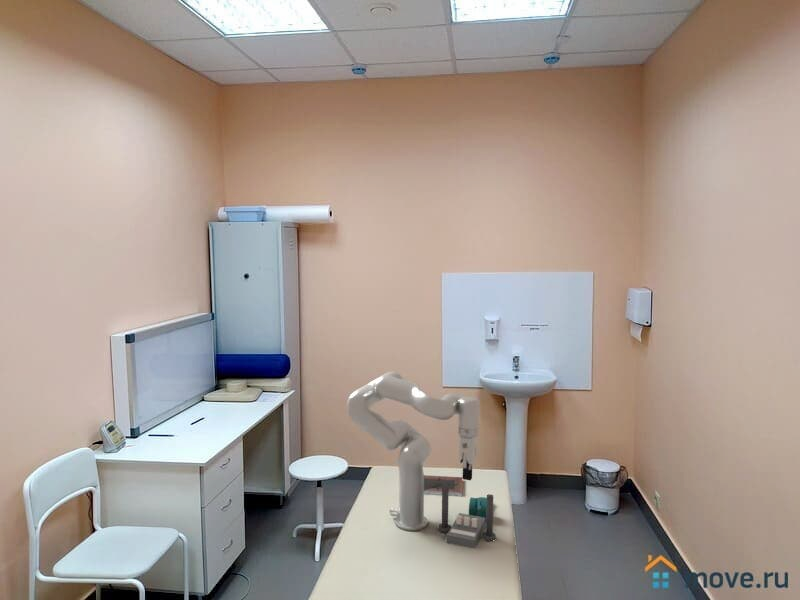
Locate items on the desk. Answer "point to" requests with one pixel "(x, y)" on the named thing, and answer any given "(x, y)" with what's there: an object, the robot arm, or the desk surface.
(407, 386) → the robot arm
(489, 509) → the post right
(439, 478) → the picture frame
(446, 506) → the post left
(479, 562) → the desk surface
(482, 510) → the teal block
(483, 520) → the breaker panel
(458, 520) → the breaker bank
